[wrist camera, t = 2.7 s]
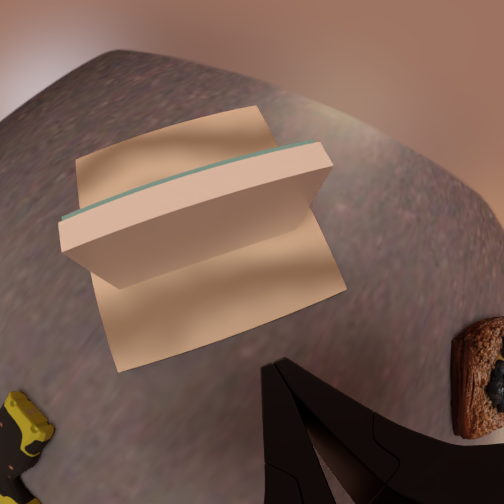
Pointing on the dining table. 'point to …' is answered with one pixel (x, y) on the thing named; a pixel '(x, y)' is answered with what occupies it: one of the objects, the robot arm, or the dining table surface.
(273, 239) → the board
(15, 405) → the stun gun
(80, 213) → the tile
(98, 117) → the dining table surface
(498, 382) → the pastry
